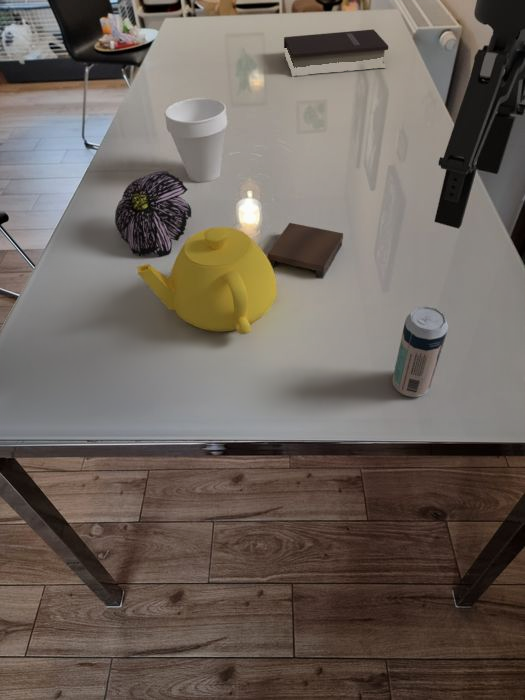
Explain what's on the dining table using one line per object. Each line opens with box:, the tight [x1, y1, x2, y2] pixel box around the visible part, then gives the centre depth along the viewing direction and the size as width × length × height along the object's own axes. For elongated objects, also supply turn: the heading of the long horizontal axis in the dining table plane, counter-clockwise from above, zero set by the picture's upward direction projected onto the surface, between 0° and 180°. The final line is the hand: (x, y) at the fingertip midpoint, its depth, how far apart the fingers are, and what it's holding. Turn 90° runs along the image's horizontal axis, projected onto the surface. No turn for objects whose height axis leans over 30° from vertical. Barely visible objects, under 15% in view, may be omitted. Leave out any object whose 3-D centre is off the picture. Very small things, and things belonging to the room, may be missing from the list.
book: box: [283, 29, 389, 68], centre depth 152 cm, size 28×20×6 cm
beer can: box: [392, 305, 449, 398], centre depth 61 cm, size 5×5×12 cm
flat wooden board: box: [266, 222, 344, 279], centre depth 85 cm, size 10×10×2 cm
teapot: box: [136, 226, 278, 335], centre depth 73 cm, size 20×19×13 cm
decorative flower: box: [114, 170, 192, 258], centre depth 89 cm, size 15×12×15 cm
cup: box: [164, 97, 228, 183], centre depth 103 cm, size 12×12×14 cm
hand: (468, 195), depth 57 cm, fingers open, 13 cm apart
